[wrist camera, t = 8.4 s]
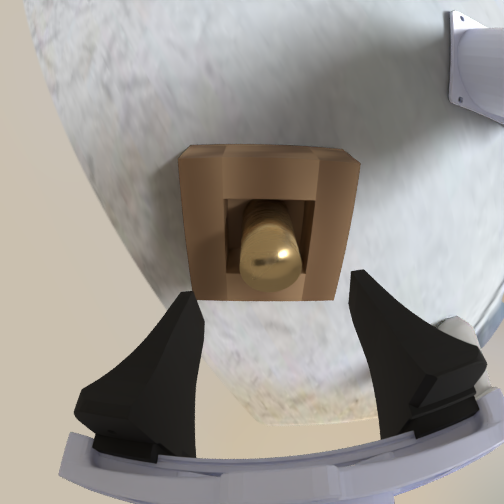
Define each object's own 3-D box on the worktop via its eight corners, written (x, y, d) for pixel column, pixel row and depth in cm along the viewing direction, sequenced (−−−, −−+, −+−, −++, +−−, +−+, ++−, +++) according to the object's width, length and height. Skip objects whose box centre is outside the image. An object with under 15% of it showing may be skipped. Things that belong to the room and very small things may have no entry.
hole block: (342, 149, 18) (360, 163, 15) (324, 271, 23) (333, 300, 20) (190, 145, 18) (177, 158, 15) (200, 270, 23) (193, 299, 20)
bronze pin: (286, 192, 19) (299, 237, 14) (290, 233, 21) (303, 288, 16) (238, 198, 19) (234, 246, 14) (246, 239, 21) (245, 295, 16)
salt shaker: (444, 345, 30) (480, 425, 19) (418, 342, 29) (455, 433, 18) (472, 314, 27) (517, 395, 16) (448, 307, 26) (498, 400, 15)
